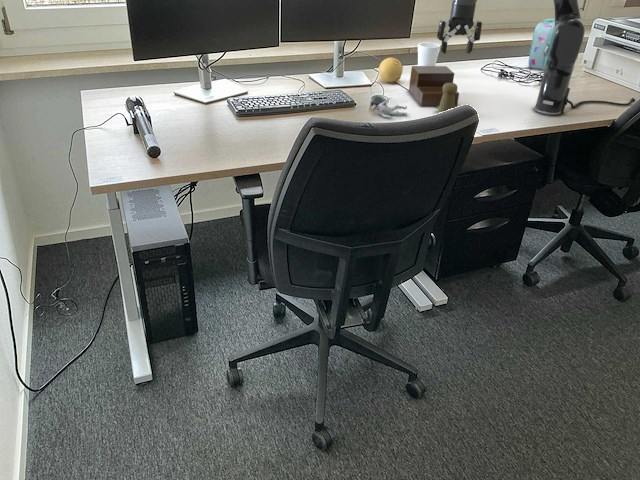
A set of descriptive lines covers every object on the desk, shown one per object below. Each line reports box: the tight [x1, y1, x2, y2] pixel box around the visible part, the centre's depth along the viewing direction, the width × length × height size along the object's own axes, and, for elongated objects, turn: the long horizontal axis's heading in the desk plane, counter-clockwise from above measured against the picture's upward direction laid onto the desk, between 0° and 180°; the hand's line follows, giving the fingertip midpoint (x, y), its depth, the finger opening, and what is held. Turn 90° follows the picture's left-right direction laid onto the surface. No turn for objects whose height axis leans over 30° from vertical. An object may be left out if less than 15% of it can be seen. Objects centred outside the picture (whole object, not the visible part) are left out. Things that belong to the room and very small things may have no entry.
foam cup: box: [417, 41, 441, 66], centre depth 233 cm, size 10×9×13 cm
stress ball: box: [378, 56, 404, 83], centre depth 224 cm, size 10×10×10 cm
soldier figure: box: [372, 97, 408, 119], centre depth 192 cm, size 8×5×12 cm
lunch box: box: [528, 17, 555, 71], centre depth 252 cm, size 27×10×21 cm, turn 147°
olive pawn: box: [437, 82, 459, 114], centre depth 193 cm, size 6×6×11 cm
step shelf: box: [408, 65, 460, 107], centre depth 208 cm, size 18×14×10 cm
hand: (455, 53), depth 185 cm, fingers open, 8 cm apart
